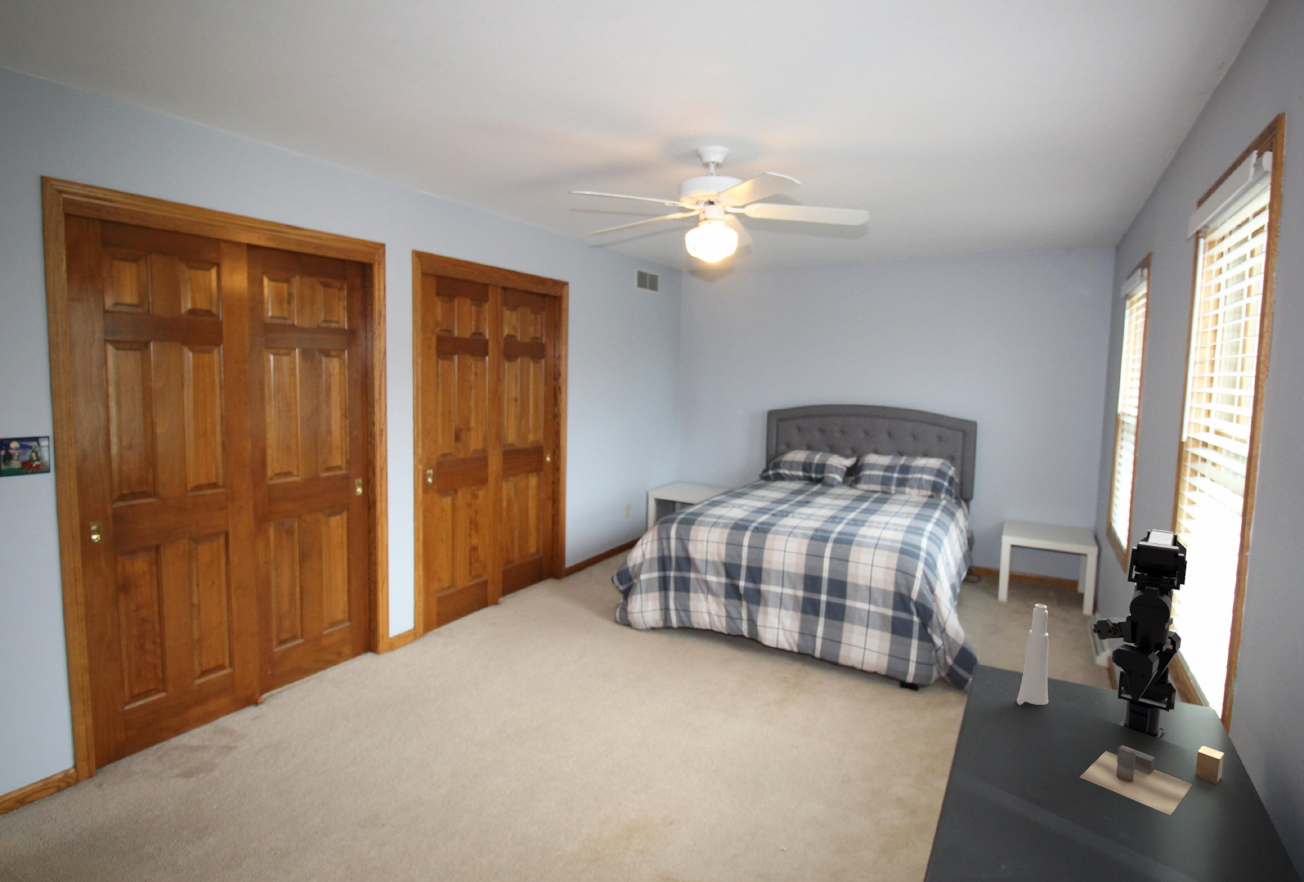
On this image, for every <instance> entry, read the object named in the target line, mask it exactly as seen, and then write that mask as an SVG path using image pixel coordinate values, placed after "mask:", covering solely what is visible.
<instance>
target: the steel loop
mask: <svg viewBox="0 0 1304 882" xmlns="http://www.w3.org/2000/svg"><path fill="white" fill-rule="evenodd" d="M1224 756H1225V752H1222V751H1219V750H1216V749H1213V748H1210V747H1208V746H1205V745H1202V746H1200V748H1199V749H1198V751H1197V756H1196V764H1195V773H1194V776H1195V777H1196V778H1199V779H1202V780H1205V781H1208V782H1210V783H1213V784H1214V785H1215V784H1216V785H1217V784H1219V782H1220V780H1221V779H1222V775H1223V767H1224Z"/></svg>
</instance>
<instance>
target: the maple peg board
mask: <svg viewBox="0 0 1304 882" xmlns="http://www.w3.org/2000/svg"><path fill="white" fill-rule="evenodd" d="M1155 759H1156V757H1155V756H1153V755H1149V754H1147V753H1144V752H1142V751H1139V750H1137V749H1134V748H1131V747H1129V746H1126V745H1124V744H1121V745H1120V746H1119V747H1118V748H1117V754H1115V753H1112V752H1109V751H1107V750H1105V751H1104V752H1103V753H1102V754H1101V755H1100V756H1099V757H1098V758H1097V759H1096V760H1095V761H1094V762H1093V763H1092V764H1091V765H1090V766H1089V767H1088V768H1087V769H1086V770H1085V771H1084V772H1083V773H1082V774H1081V775H1080V776H1079V778H1080V779H1083V780H1084V781H1088V782H1090V783H1091V784H1095V785H1097V786H1099V787H1102V788H1105V789H1106V790H1109V791H1111V792H1114V793H1115V794H1118V795H1121V796H1123V797H1126V798H1127V799H1130V800H1133V801H1135V802H1137V803H1140V804H1142V805H1144V806H1147V807H1149V808H1152V809H1153V810H1156V811H1159V812H1162V813H1164V814H1166V815H1168V816H1172V815H1173V813H1174V811H1175V810H1176V808H1177V807H1178V806H1179V804H1180V803H1181V801H1183V799H1184V797H1185V796H1186V794H1187V793H1188V792H1189V790H1190V789H1191V788H1192V786H1193V784H1192V783H1190V782H1187V781H1184V780H1183V779H1180V778H1178V777H1174V776H1172V775H1169V774H1167V773H1165V772H1161V771H1159V770H1157V769H1155V768H1154V767H1155Z"/></svg>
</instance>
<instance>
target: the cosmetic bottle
mask: <svg viewBox="0 0 1304 882" xmlns="http://www.w3.org/2000/svg"><path fill="white" fill-rule="evenodd" d="M1047 609H1048V606H1047V605H1045V604H1041V603H1036V604H1035V605H1034V608H1033V609H1032V619H1031V629H1030V630H1028V631H1029V632H1028V636H1027V642H1026V643H1027V644H1026V649H1025V658H1024V663H1023V664H1024V665H1023V673H1022V679H1021V684H1020V687H1019V692H1018V695H1017V697H1016V703H1017V704H1018V705H1019V706H1021V705H1023V704H1024V703H1029V704H1032V705H1037V706H1045V705H1047V704H1049V693H1048V671H1049V670H1048V667H1049V664H1048V663H1049V638H1050V636H1049V633H1048V632H1047V629H1048V616H1049V612H1048V610H1047Z"/></svg>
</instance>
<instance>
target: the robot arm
mask: <svg viewBox="0 0 1304 882" xmlns="http://www.w3.org/2000/svg"><path fill="white" fill-rule="evenodd" d="M1178 535H1179V534H1178V533H1176V532H1174V531H1171V530H1170V531H1169V530H1164V529H1163V530H1162V529H1161V530H1160V529H1154V528H1152V529H1147V533H1146V536H1145V537H1143V538H1142V539H1140V540H1138V542H1137V544H1136V546H1132V547H1131V553H1130V561H1129V568H1128V575H1127V582H1129V583H1134V588H1133V589H1134V591H1133V594H1132V597H1131V600H1130V602H1129V603H1130V604H1129V609H1128V610H1129V614H1127V615H1126V616H1115V617H1114V616H1113V617H1101V618H1099V619H1097V620H1095V621H1094V622H1093V629H1092V633H1094V634H1096V635H1097V638H1098V640H1100V641H1103V640H1104V641H1105V640H1107V639H1122V638H1123V640H1122V642H1123V643H1124V644H1122V645H1119V646H1118V647H1117V648H1115V649H1113V650H1112V655H1111V662H1112V663H1113V664H1115V666H1116V667H1118V668H1120V671H1119V678H1118V691H1117V699H1118V700H1124V701H1125V706H1124V707H1125V708H1124V709H1125V710H1124V716H1123V717H1124V718H1123V720H1121V721H1120V723H1119V724H1118V726H1121V727H1125V728H1127V729H1130V730H1132V731H1136V732H1138V733H1142V734H1145V735H1147V736H1149V737H1152V738H1156V739H1157V740H1158V739H1159V738H1161V736H1162V735H1163V734H1164V733H1165V728H1162V727H1160V724H1161V723H1160V722H1161V715H1162V714H1161V713H1162V711H1165V712H1170V710H1175V704H1176V702H1175V701H1176V695H1177V694H1176V693H1177V689H1176V688H1175V687H1174V684H1173V680H1170V679H1169V673H1170V669H1169V665H1170V663H1172V660H1173V659H1174V658H1175V656H1176V655H1177V654H1178V652H1179V650H1180V648H1181V645H1182V643H1181V642H1182V637H1181V636H1180V635H1179V634H1178V633H1177V632H1176V631H1172V630H1170V626H1171V625H1172V624H1173V623H1174V617H1171V613H1172V606H1173V605H1172V604H1173V596H1174V591H1181V585H1182V586H1185V584H1186V575H1187V565H1188V561H1187V552H1188V550H1187V547H1186V546H1185V545H1183V544H1182V543H1181V542H1180V541H1179V540H1178ZM1134 572H1135V573H1134ZM1130 644H1133V645H1130ZM1170 646H1171V647H1170Z"/></svg>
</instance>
